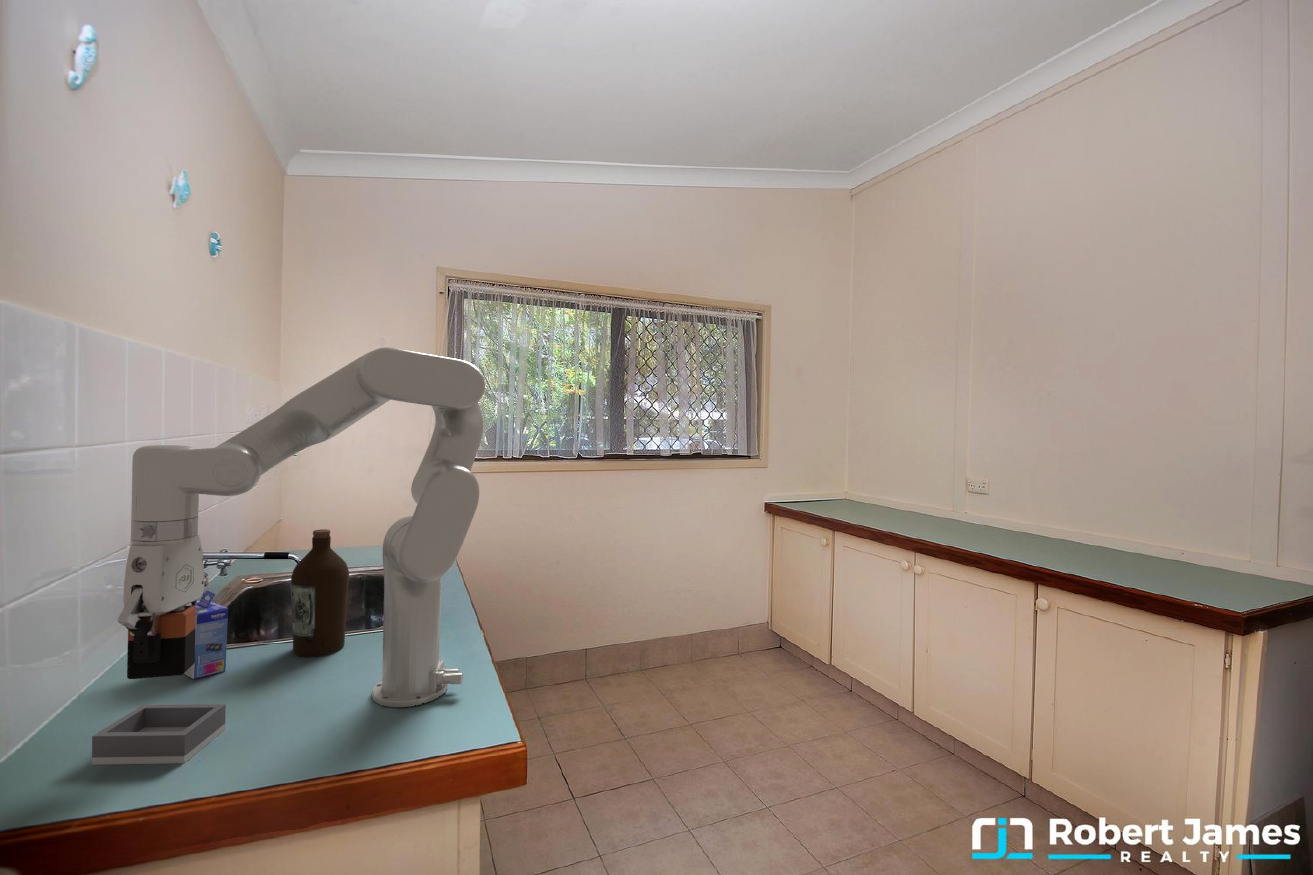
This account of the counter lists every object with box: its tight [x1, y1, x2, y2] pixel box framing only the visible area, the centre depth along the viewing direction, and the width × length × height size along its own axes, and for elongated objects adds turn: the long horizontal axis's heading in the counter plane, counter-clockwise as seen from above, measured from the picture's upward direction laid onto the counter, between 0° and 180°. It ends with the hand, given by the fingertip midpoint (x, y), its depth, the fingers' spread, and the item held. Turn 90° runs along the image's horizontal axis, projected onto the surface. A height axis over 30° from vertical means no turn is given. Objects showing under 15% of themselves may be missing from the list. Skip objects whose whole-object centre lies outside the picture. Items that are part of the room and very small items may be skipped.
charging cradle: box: [91, 703, 227, 766], centre depth 87 cm, size 12×9×4 cm
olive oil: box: [290, 528, 350, 658], centre depth 124 cm, size 11×11×25 cm
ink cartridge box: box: [183, 590, 229, 680], centre depth 112 cm, size 10×6×14 cm, turn 58°
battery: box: [126, 605, 196, 680], centre depth 86 cm, size 4×7×10 cm, turn 109°
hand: (162, 652), depth 86 cm, fingers closed on battery, 5 cm apart
